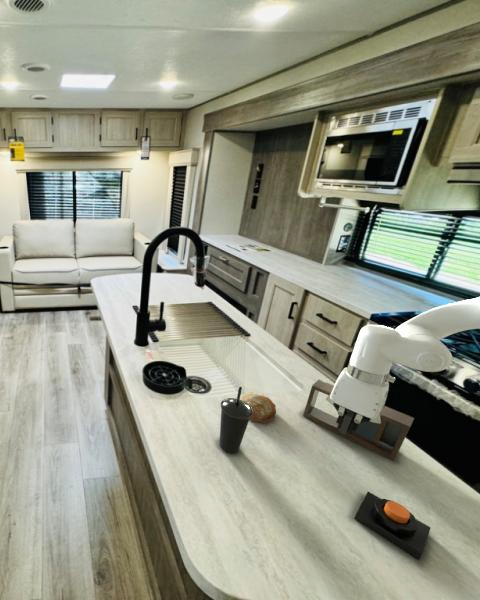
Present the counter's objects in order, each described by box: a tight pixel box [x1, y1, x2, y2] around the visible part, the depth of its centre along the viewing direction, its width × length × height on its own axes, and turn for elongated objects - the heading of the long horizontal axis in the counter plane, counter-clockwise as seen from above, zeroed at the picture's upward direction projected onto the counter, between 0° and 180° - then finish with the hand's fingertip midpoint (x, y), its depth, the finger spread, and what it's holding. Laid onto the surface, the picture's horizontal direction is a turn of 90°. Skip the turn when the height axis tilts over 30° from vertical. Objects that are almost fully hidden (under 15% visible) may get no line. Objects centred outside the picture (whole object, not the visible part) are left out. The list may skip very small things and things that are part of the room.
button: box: [384, 500, 411, 524], centre depth 65 cm, size 4×4×2 cm
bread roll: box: [240, 392, 277, 424], centre depth 98 cm, size 10×10×8 cm
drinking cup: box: [219, 386, 253, 455], centre depth 83 cm, size 8×8×20 cm
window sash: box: [338, 409, 388, 444], centre depth 84 cm, size 9×7×8 cm
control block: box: [353, 491, 432, 561], centre depth 65 cm, size 10×8×4 cm
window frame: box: [302, 378, 415, 462], centre depth 88 cm, size 21×5×12 cm, turn 36°
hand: (345, 428), depth 86 cm, fingers closed
